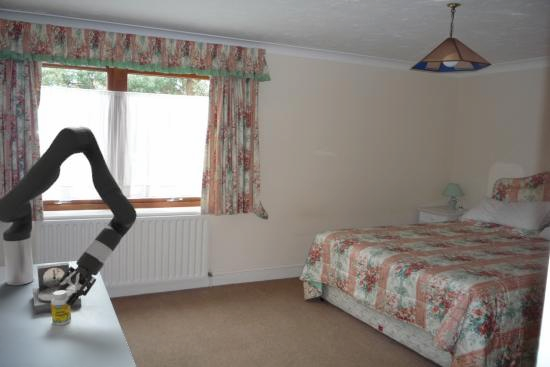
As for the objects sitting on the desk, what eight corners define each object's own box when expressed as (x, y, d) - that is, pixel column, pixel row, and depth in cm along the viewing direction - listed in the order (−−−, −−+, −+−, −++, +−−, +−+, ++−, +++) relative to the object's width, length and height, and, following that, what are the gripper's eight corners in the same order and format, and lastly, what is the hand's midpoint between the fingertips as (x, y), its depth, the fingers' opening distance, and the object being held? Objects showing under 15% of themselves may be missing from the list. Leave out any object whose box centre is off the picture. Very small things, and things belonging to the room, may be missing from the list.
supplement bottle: (69, 316, 152) (67, 287, 150) (72, 322, 147) (70, 293, 146) (51, 320, 149) (49, 291, 147) (53, 326, 144) (51, 296, 143)
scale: (33, 296, 168) (30, 267, 166) (75, 290, 174) (73, 261, 173) (35, 314, 153) (32, 282, 151) (81, 306, 160) (79, 275, 158)
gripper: (76, 247, 157) (42, 289, 150) (98, 255, 147) (63, 301, 140) (92, 259, 161) (60, 300, 154) (114, 268, 152) (81, 313, 145)
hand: (62, 301), depth 147 cm, fingers open, 8 cm apart
